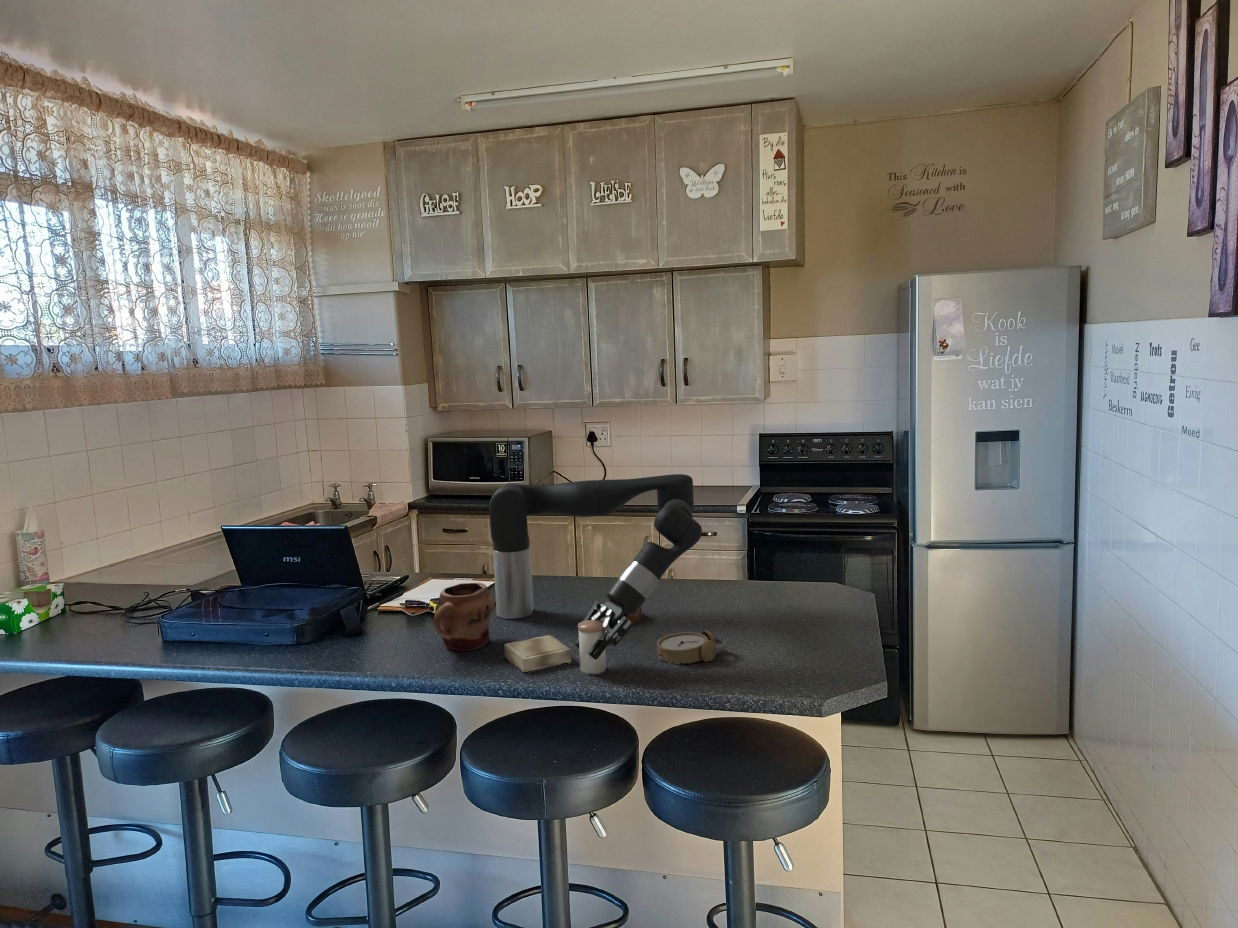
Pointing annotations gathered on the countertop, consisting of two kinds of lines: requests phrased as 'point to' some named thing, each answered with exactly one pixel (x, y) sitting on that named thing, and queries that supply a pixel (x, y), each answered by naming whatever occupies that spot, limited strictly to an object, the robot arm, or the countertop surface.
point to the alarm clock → (689, 647)
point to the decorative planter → (464, 616)
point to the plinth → (537, 653)
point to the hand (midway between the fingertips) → (584, 651)
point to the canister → (590, 646)
